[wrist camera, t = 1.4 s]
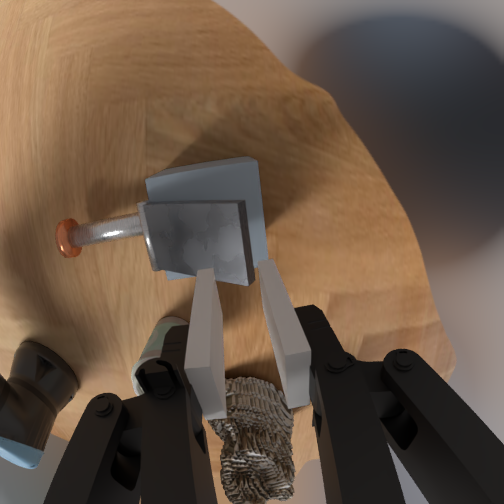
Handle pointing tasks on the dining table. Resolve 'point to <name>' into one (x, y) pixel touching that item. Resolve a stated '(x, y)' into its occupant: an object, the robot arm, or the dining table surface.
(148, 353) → the coffee cup
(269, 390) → the sculpture
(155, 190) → the block
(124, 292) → the dining table surface
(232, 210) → the keeper plate
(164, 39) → the dining table surface
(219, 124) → the dining table surface
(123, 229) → the lynch pin
